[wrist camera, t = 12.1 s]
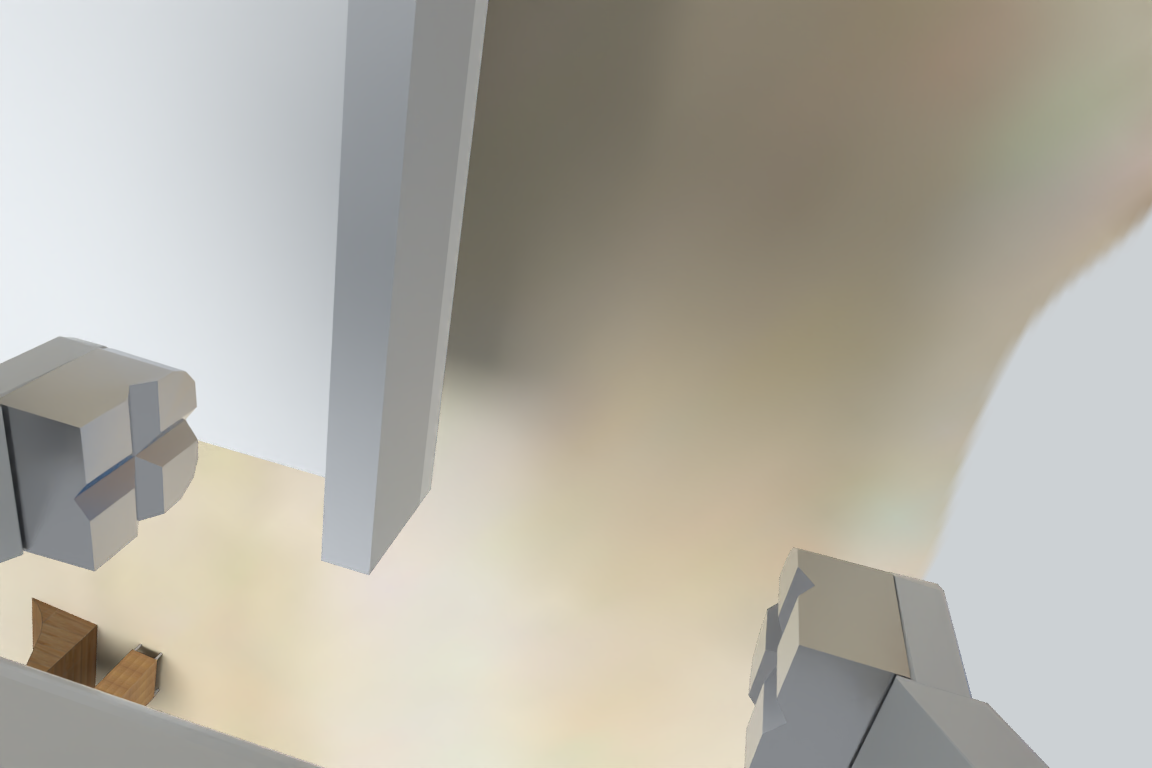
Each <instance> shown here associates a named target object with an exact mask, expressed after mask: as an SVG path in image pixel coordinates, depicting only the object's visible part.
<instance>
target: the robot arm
mask: <svg viewBox="0 0 1152 768" xmlns="http://www.w3.org/2000/svg"><path fill="white" fill-rule="evenodd" d="M196 407H197V401H196V387H195V381H194V380H193V379H192V378H191V376H190V375H189V374H188V373H187V372H186V371H184V370H180V369H177V368H174V367H171V366H167V365H164V364H161V363H158V362H155V361H151V360H148V359H145V358H142V357H139V356H135V355H132V354H129V353H126V352H122V351H119V350H116V349H113V348H108V347H106V346H104V345H100V344H96V343H93V342H89V341H86V340H82V339H78V338H74V337H62V336H59V337H56V338H54V339H52V340H50V341H48V342H46V343H44V344H41V345H39V346H37V347H35V348H33V349H31V350H28V351H26V352H24V353H22V354H20V355H18V356H16V357H13V358H11V359H9V360H7V361H5V362H3V363H1V364H0V563H1V562H4V561H7V560H9V559H12V558H15V557H17V556H20V555H22V554H23V551H27V552H30V553H34V554H37V555H41V556H44V557H47V558H51V559H54V560H58V561H61V562H65V563H68V564H71V565H75V566H78V567H82V568H85V569H89V570H92V571H96V570H97V569H98V568H99V567H101V566H102V565H103V564H104V563H105V562H107V561H108V560H109V559H110V558H111V557H113V556H114V555H115V554H116V553H118V552H119V551H120V550H121V549H122V548H124V547H125V546H126V545H127V544H128V543H130V542H131V541H132V540H133V539H134V538H136V537H137V536H138V523H139V521H140V520H144V519H147V518H151V517H154V516H157V515H161V514H164V513H166V512H167V511H168V510H169V509H170V508H171V507H172V506H173V505H175V504H176V503H177V502H178V501H179V500H180V499H181V498H182V496H183V495H184V493H185V491H186V489H187V488H188V486H189V484H190V483H191V481H192V479H193V477H194V473H195V469H196V465H197V460H198V439H197V438H196V436H195V434H194V433H193V431H192V429H191V428H190V426H189V425H188V423H187V421H186V419H187V417H188V416H189V415H190V414H191V413H192V412H193V411H194V410H195V408H196ZM749 697H750V698H751V700H752V701H753V703H754V704H755V707H754V710H753V713H752V715H751V718H750V720H749V723H748V726H747V728H746V747H745V766H744V768H1049V767H1048V766H1047V765H1046V764H1045V763H1044V761H1042V759H1041V758H1040V757H1039V756H1038V755H1037V754H1036V753H1035V752H1034V751H1033V750H1032V749H1031V748H1030V747H1029V746H1028V745H1027V744H1026V743H1025V742H1024V741H1023V740H1022V739H1021V737H1020V736H1019V735H1018V734H1017V733H1016V732H1015V731H1014V730H1013V729H1012V728H1011V727H1010V726H1009V725H1008V724H1007V723H1006V722H1005V721H1004V720H1003V719H1002V718H1001V717H1000V716H999V715H998V714H997V713H996V711H995V710H994V709H993V708H992V707H991V706H990V705H989V704H988V703H985V702H982V701H979V700H976V699H972V696H971V692H970V688H969V685H968V681H967V677H966V673H965V669H964V666H963V662H962V658H961V654H960V650H959V647H958V643H957V639H956V635H955V631H954V628H953V624H952V620H951V616H950V612H949V609H948V605H947V601H946V597H945V593H944V590H943V589H942V588H941V587H940V586H939V585H938V584H935V583H932V582H928V581H924V580H920V579H916V578H912V577H908V576H904V575H900V574H896V573H892V572H885V571H882V570H878V569H874V568H870V567H867V566H863V565H859V564H855V563H852V562H848V561H844V560H840V559H837V558H833V557H829V556H825V555H821V554H818V553H814V552H810V551H806V550H803V549H799V548H795V547H793V548H792V550H791V551H790V553H789V555H788V557H787V559H786V561H785V564H784V567H783V569H782V572H781V574H780V577H779V603H777V604H776V605H774V606H772V607H770V608H769V609H767V612H766V615H765V618H764V621H763V624H762V627H761V629H760V632H759V636H758V640H757V644H756V647H755V651H754V655H753V660H752V667H751V673H750V683H749ZM0 768H325V767H322V766H319V765H316V764H313V763H310V762H307V761H304V760H301V759H298V758H295V757H292V756H290V755H287V754H284V753H281V752H278V751H275V750H272V749H269V748H266V747H263V746H260V745H257V744H255V743H252V742H249V741H246V740H243V739H240V738H237V737H234V736H231V735H228V734H225V733H222V732H219V731H217V730H214V729H211V728H208V727H205V726H202V725H199V724H196V723H193V722H190V721H187V720H184V719H182V718H179V717H176V716H173V715H170V714H167V713H164V712H161V711H158V710H155V709H152V708H149V707H146V706H144V705H141V704H138V703H135V702H132V701H129V700H126V699H123V698H120V697H117V696H114V695H111V694H109V693H106V692H103V691H100V690H97V689H94V688H91V687H88V686H85V685H82V684H79V683H76V682H73V681H71V680H68V679H65V678H62V677H59V676H56V675H53V674H50V673H47V672H44V671H41V670H38V669H36V668H33V667H30V666H27V665H24V664H21V663H18V662H15V661H12V660H9V659H6V658H3V657H1V656H0Z"/></svg>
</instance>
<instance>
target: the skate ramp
mask: <svg viewBox="0 0 1152 768" xmlns="http://www.w3.org/2000/svg"><path fill="white" fill-rule="evenodd" d="M32 622H33V652H32V654H31V656H30V658H29V660H28V663H27V666H30V667H33V668H36V669H38V670H41V671H44V672H47V673H50V674H53V675H56V676H59V677H62V678H65V679H68V680H71V681H73V682H76V683H79V684H82V685H85V686H88V687H91V688H94V689H97V690H100V691H103V692H106V693H109V694H111V695H114V696H117V697H120V698H123V699H126V700H129V701H132V702H135V703H138V704H141V705H144V706H146V705H147V704H148V703H149V702H150V701H151V700H152V699H153V698H154V695H155V694H156V693H157V692H158V691H159V689H157V690H156V691H155V679H156V668H157V659H158V658H159V657H160V656H161V655H162V653H160V654H159V655H158V656H157V657H156V658H155V659H154V658H152V657H149V656H147V655H144V654H142V653H140V652H137V650H138V649H139V648H140V647H141V646H142V644H140V645H139V646H138V647H137V648H136V649H135V650H133V649H132V650H131V651H130V652H129V653H128V654H127V655H126V656H125V657H124V658H123V659H122V660H121V661H120V662H119V663H118V664H117V665H116V666H115V667H114V668H113V669H112V670H111V671H110V672H109V673H108V674H107V675H106V677H105V678H104V679H103V680H102V681H101V682H100V683H99V684H98V685H97V686H96V687H95V678H96V648H97V625H96V624H93V623H91V622H89V621H86V620H84V619H81V618H79V617H77V616H74V615H72V614H70V613H67V612H65V611H63V610H60V609H58V608H55V607H53V606H51V605H48V604H46V603H44V602H41V601H39V600H37V599H34V598H32ZM154 691H155V692H154Z"/></svg>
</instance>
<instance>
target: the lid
mask: <svg viewBox="0 0 1152 768" xmlns="http://www.w3.org/2000/svg"><path fill="white" fill-rule="evenodd" d="M487 9H488V0H0V364H1V363H3V362H5V361H7V360H9V359H11V358H13V357H16V356H18V355H20V354H22V353H24V352H26V351H28V350H31V349H33V348H35V347H37V346H39V345H41V344H44V343H46V342H48V341H50V340H52V339H54V338H56V337H59V336H62V337H74V338H78V339H82V340H86V341H89V342H93V343H96V344H100V345H104V346H106V347H108V348H113V349H116V350H119V351H122V352H126V353H129V354H132V355H135V356H139V357H142V358H145V359H148V360H151V361H155V362H158V363H161V364H164V365H167V366H171V367H174V368H177V369H180V370H184V371H186V372H187V373H188V374H189V375H190V376H191V378H192V379H193V380H194V381H195V387H196V401H197V407H196V408H195V410H194V411H193V412H192V413H191V414H190V415H189V416H188V417H187V419H186V421H187V423H188V425H189V426H190V428H191V429H192V431H193V433H194V434H195V436H196V438H197V439H198V440H199V441H203V442H206V443H209V444H213V445H216V446H220V447H223V448H226V449H230V450H233V451H237V452H240V453H244V454H247V455H250V456H254V457H257V458H261V459H264V460H268V461H271V462H274V463H278V464H281V465H285V466H288V467H291V468H295V469H298V470H302V471H305V472H309V473H312V474H315V475H319V476H322V477H325V494H324V515H323V536H322V556H321V561H325V562H328V563H331V564H334V565H338V566H341V567H344V568H348V569H351V570H354V571H357V572H361V573H364V574H367V575H370V573H371V572H372V570H373V569H374V568H375V566H376V565H377V563H378V562H379V561H380V559H381V558H382V556H383V555H384V554H385V552H386V551H387V549H388V548H389V547H390V545H391V544H392V542H393V541H394V540H395V538H396V537H397V535H398V534H399V533H400V531H401V530H402V528H403V527H404V526H405V524H406V523H407V521H408V520H409V519H410V517H411V516H412V514H413V513H414V512H415V510H416V509H417V508H418V506H419V505H420V503H421V502H422V501H423V499H424V498H425V496H426V495H427V494H428V492H429V491H430V489H431V483H432V474H433V466H434V458H435V449H436V441H437V432H438V424H439V415H440V407H441V398H442V390H443V381H444V373H445V364H446V356H447V347H448V339H449V330H450V322H451V314H452V305H453V297H454V288H455V280H456V271H457V263H458V254H459V246H460V237H461V229H462V220H463V212H464V203H465V195H466V186H467V178H468V170H469V161H470V153H471V144H472V136H473V127H474V119H475V110H476V102H477V93H478V85H479V76H480V68H481V59H482V51H483V42H484V34H485V26H486V17H487Z"/></svg>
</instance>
